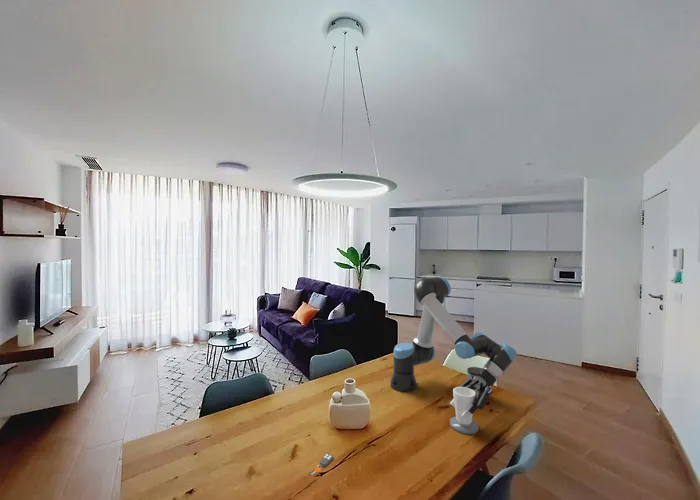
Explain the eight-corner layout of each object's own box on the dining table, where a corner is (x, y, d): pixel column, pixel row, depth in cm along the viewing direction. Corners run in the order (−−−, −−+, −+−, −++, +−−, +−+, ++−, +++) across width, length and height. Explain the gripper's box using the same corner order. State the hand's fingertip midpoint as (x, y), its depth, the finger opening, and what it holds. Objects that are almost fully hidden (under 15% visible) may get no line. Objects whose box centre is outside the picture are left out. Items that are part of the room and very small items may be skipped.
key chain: (325, 455, 117) (325, 451, 117) (334, 458, 116) (334, 455, 116) (306, 478, 106) (306, 474, 106) (315, 482, 104) (315, 477, 104)
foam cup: (474, 416, 140) (475, 388, 140) (476, 428, 131) (476, 398, 131) (452, 413, 143) (453, 385, 143) (452, 423, 134) (453, 394, 134)
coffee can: (482, 392, 170) (483, 366, 170) (490, 401, 159) (491, 374, 159) (464, 391, 170) (464, 366, 170) (471, 401, 160) (471, 374, 159)
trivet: (452, 432, 132) (452, 429, 132) (447, 417, 144) (447, 414, 144) (481, 435, 130) (481, 432, 130) (474, 420, 142) (474, 417, 142)
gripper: (512, 389, 129) (477, 431, 126) (480, 369, 151) (450, 404, 148) (501, 378, 128) (466, 419, 125) (470, 359, 150) (440, 394, 147)
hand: (457, 411), depth 136 cm, fingers closed on foam cup, 9 cm apart
